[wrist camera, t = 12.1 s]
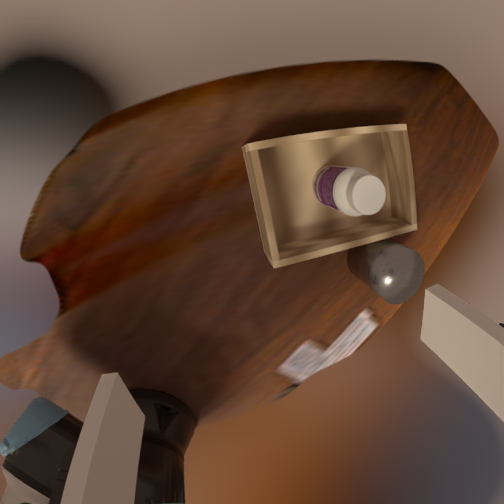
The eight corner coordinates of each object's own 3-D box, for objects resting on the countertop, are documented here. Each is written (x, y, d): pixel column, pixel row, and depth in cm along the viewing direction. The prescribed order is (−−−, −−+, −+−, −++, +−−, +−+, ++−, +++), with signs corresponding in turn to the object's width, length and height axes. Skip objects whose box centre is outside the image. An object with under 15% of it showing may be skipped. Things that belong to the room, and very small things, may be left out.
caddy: (264, 252, 38) (273, 268, 32) (241, 146, 33) (248, 143, 28) (393, 220, 39) (417, 229, 34) (381, 126, 35) (406, 123, 29)
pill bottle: (317, 212, 36) (351, 229, 27) (306, 171, 34) (339, 175, 25) (353, 200, 36) (395, 213, 27) (344, 160, 35) (385, 162, 26)
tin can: (349, 283, 41) (379, 311, 32) (344, 237, 39) (378, 258, 30) (388, 270, 42) (423, 294, 33) (386, 226, 39) (424, 243, 31)
